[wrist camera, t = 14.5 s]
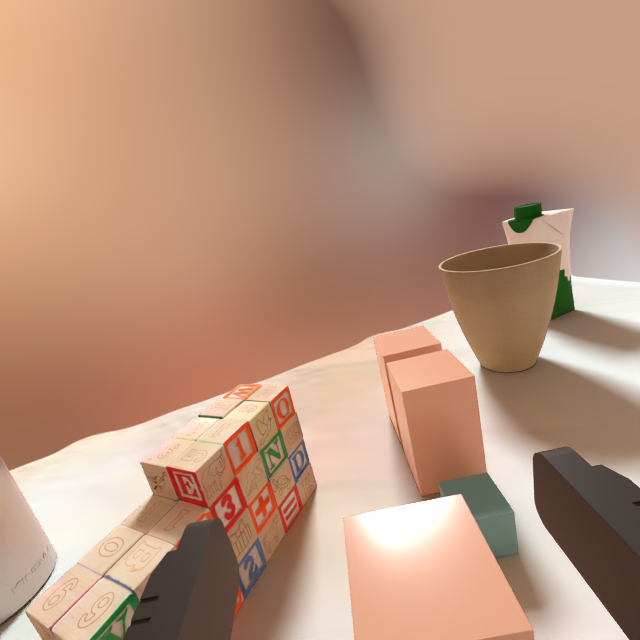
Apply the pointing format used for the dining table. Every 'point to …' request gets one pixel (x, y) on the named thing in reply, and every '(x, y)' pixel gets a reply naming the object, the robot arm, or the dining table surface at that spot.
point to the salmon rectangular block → (437, 418)
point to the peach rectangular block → (401, 357)
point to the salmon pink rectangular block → (428, 576)
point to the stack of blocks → (191, 510)
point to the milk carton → (550, 229)
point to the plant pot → (504, 300)
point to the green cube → (486, 511)
